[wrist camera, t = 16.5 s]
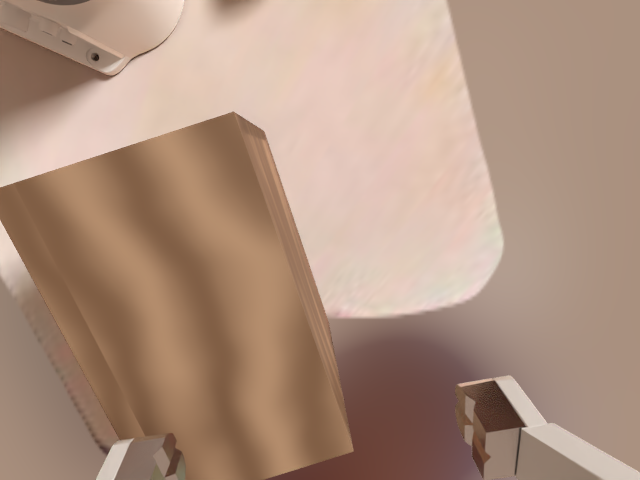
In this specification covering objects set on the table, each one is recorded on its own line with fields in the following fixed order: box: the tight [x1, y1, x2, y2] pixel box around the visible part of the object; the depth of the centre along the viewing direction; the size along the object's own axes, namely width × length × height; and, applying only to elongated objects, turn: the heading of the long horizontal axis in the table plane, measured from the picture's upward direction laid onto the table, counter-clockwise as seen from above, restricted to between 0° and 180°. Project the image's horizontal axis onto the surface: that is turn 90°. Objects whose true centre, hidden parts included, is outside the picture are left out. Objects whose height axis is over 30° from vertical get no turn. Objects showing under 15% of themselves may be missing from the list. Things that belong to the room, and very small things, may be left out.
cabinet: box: [0, 112, 353, 480], centre depth 36 cm, size 16×26×22 cm, turn 18°
